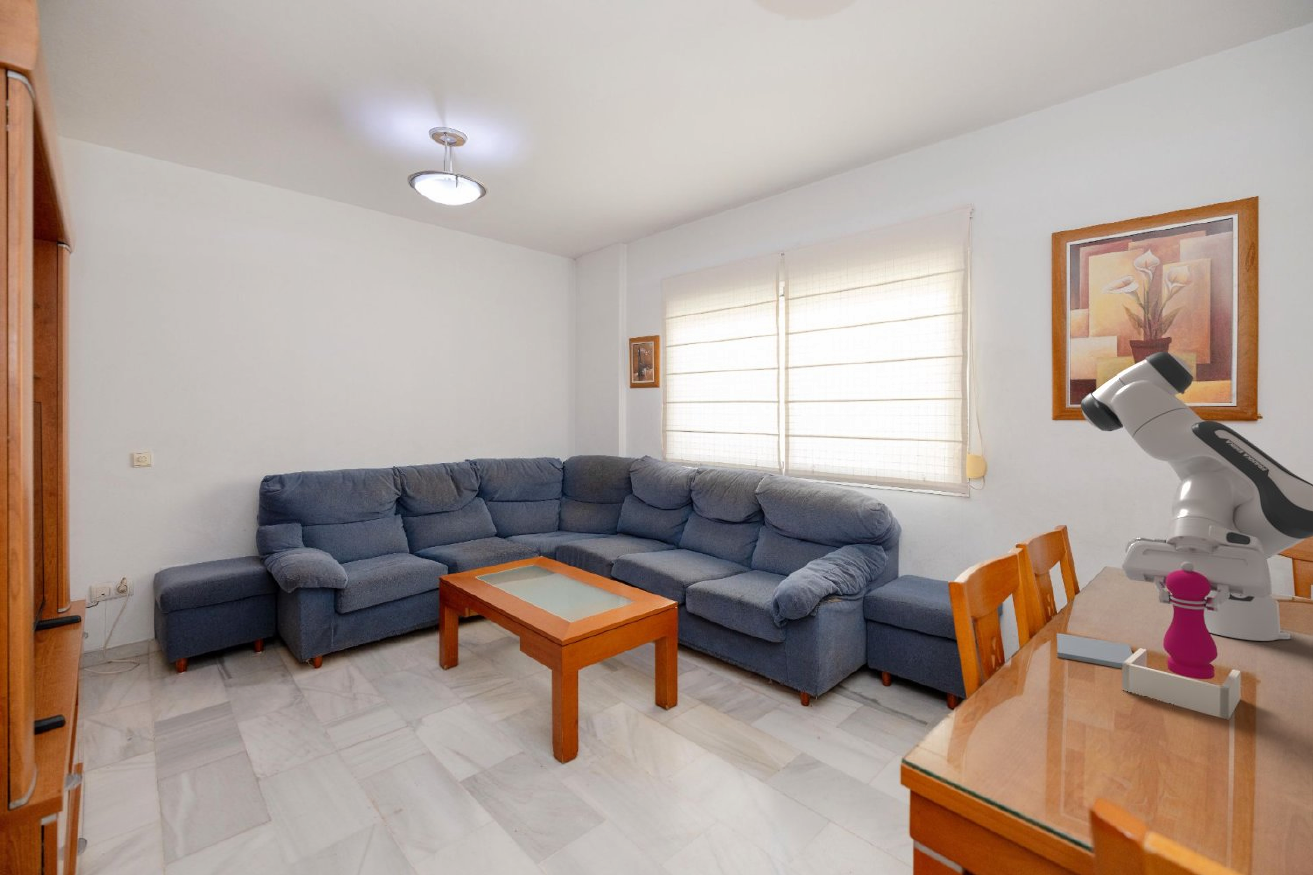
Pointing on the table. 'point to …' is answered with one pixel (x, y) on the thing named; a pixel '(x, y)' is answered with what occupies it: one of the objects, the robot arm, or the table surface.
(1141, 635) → the table surface
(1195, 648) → the pepper mill
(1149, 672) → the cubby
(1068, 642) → the pad
